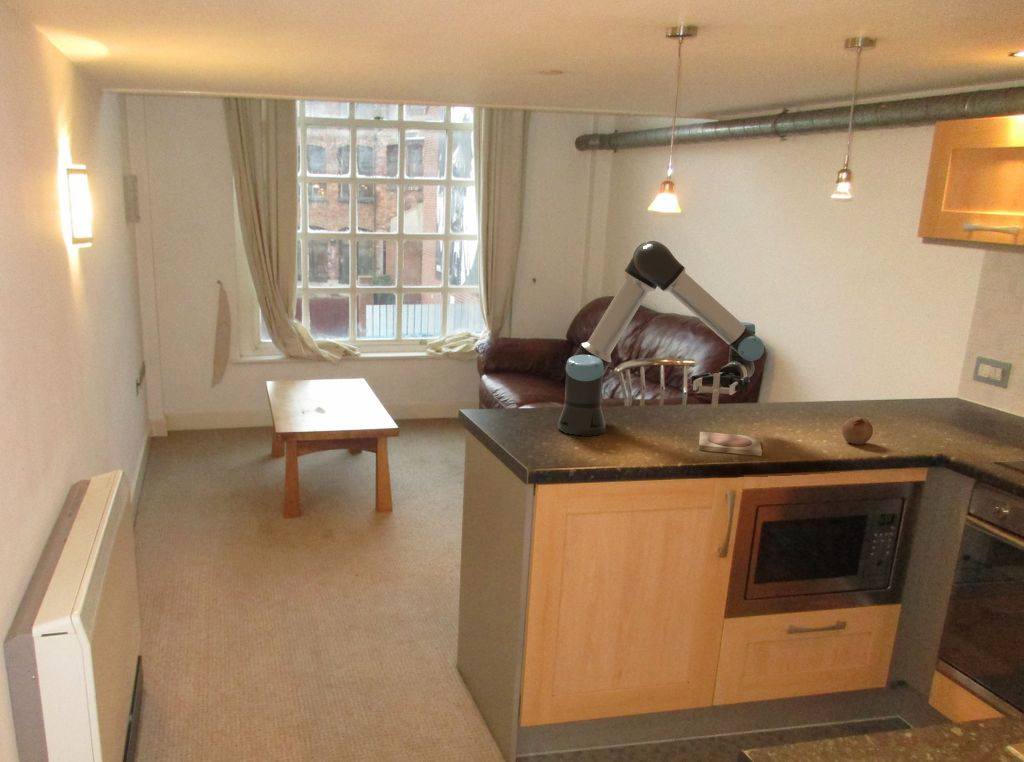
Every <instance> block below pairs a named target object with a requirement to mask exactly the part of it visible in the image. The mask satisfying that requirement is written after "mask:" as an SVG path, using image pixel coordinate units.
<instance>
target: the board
mask: <svg viewBox="0 0 1024 762" xmlns="http://www.w3.org/2000/svg"><path fill="white" fill-rule="evenodd" d="M698 451H707V452H716V453H726V454H727V453H728V454H737V455H746V456H747V455H748V456H757V457H761V456H762V454H763V453H762V452H763V451H762V445H761V441H760V436H754V435H753V436H751V435H742V434H733V433H732V434H731V433H718V432H712V431H711V432H709V431H699V441H698Z"/></svg>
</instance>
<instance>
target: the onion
mask: <svg viewBox="0 0 1024 762" xmlns="http://www.w3.org/2000/svg"><path fill="white" fill-rule="evenodd" d="M841 434H842V437H843V438H844V440H845V442H846V443H850V444H851V445H864V444H866V443H867V442H869V441H870V439H871V438H872V437H873V434H874V428H873V425H872V423H871V421H869V420H868V419H866V418H864V417H860V416H853V417H850V418H849V419H847V420H846V421H845V422H843V425H842V428H841Z"/></svg>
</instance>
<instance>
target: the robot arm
mask: <svg viewBox="0 0 1024 762" xmlns="http://www.w3.org/2000/svg"><path fill="white" fill-rule="evenodd" d="M677 259H678V258H676V257H675V256H674V255H673V253H672V252H671V251H670V249H669V248H668V247H667V246H666V245H664V244H663V243H661V242H659V241H655V240H648V241H645V242H643V243H641V244H639V245H638V246H637V248H635V250H634V252H633V254H632V257H631V259H630V261H629V263H628V265H627V266H626V268H625V270H624V271H623V272H624V277H625V279H624V280H623V282H622V284H621V285H620V287H619V288H618V291H617V292H616V294H615V295H614V297H613V299H612V300H611V302H610V304H609V305H608V307H607V309H606V310H605V312H604V314H603V315H602V317H601V319H600V320H599V322H598V324H596V327H595V328H594V330H593V332H592V334H591V335H590V337H589V338H588V340H587V341H585V342H581V343H580V345H579V346H578V349H577V350H576V352H575V353H574V354H573V356H570V357H569V358H568V359H567V361H566V365H565V386H564V387H565V389H564V406H563V409H562V411H561V414H560V416H559V419H558V422H557V424H558V425H557V429H558V428H559V429H560V430H561V431H563V432H566V433H565V434H567V433H569V434H568V435H571V434H575V435H574V436H578V435H582V436H581V437H593V435H594V436H599V434H600V435H602V434H604V433H605V432H606V421H605V417H604V413H603V411H602V396H603V378H604V374H605V372H606V371H607V370H608V367H609V366H610V364H611V363H612V357H611V354H612V353H613V350H614V349H615V347H616V346H617V344H618V342H619V341H620V339H621V337H622V336H623V334H624V332H625V331H626V329H627V328H628V326H629V324H630V322H632V319H633V317H634V316H635V314H636V313H637V311H638V309H639V308H640V307H641V304H642V303H643V301H644V300H645V298H646V297H647V295H648V293H650V292H652V291H656V289H657V287H658V288H659V289H660V290H662V292H669V293H670V294H671V295H672V296H673V297H674V298H675V299H677V301H679V302H680V303H681V304H682V305H683V306H684V307H685V308H686V309H688V310H689V312H691V313H692V314H693V315H694V316H696V317H697V318H698V320H700V321H701V322H702V323H703V324H704V325H706V326H707V327H708V328H709V329H710V330H711V331H712V332H714V333H715V334H716V335H717V336H718V337H719V338H720V339H721V340H723V341H724V342H725V343H726V344H727V345H728V346H729V354H728V363H727V364H726V365H724V366H722V367H721V368H720V369H719V370H718V372H717V373H718V374H720V384H719V386H721V387H722V388H730V390H729V394H728V395H729V396H733V395H734V394H735V393H737V392H743V390H744V392H749V391H750V390H749V389H750V379H751V378H752V376H753V374H754V373H755V365H754V362H755V361H757V360H759V359H760V358H761V357H762V356H763V354H764V352H765V346H764V342H763V340H761V338H759V337H758V336H757V335H756V325H755V323H752V322H744V321H742V322H741V321H740V320H739V319H738V318H737V317H735V316H734V314H732V313H731V312H730V311H729V310H728V309H726V307H724V305H723V304H721V303H720V302H719V301H717V300H716V299H715V298H714V297H713V296H712V295H711V294H710V293H709V292H707V290H705V289H704V288H703V287H702V286H701V285H700V284H699V283H698V282H696V281H695V280H694V279H693V278H692V277H691V276H690V275H689V274H687V273H686V267H685V266H684V265H683V264H682V263H680V262H679V260H677ZM713 379H714V373H712V374H711V373H710V372H709V371H705V372H703V373H700V374H695V375H691V379H690V381H691V382H690V384H691V385H692V391H697V390H699V386H706V385H707V386H708V385H713ZM561 431H560V432H561ZM563 432H562V433H563Z"/></svg>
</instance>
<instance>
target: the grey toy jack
mask: <svg viewBox="0 0 1024 762" xmlns="http://www.w3.org/2000/svg"><path fill="white" fill-rule="evenodd" d="M713 374H714V379H713V384H712V385H711V386H708V385H707V386H706V385H702V386H699V389H698V393H707V394H709V393H710V394H712V396H711V408H718V407H719V396H720V394H724V395H725V394H726V395H729V390H730V388H724V387H722V386H721V387H720V385H719V384H720V374H718V372H716V373H713Z"/></svg>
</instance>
